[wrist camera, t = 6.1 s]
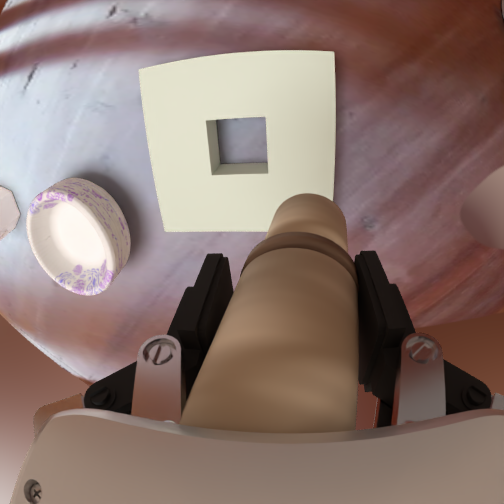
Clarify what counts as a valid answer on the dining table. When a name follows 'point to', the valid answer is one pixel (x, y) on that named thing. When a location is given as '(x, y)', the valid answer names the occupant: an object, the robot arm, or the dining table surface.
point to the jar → (7, 212)
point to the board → (239, 106)
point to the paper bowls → (78, 235)
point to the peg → (287, 332)
